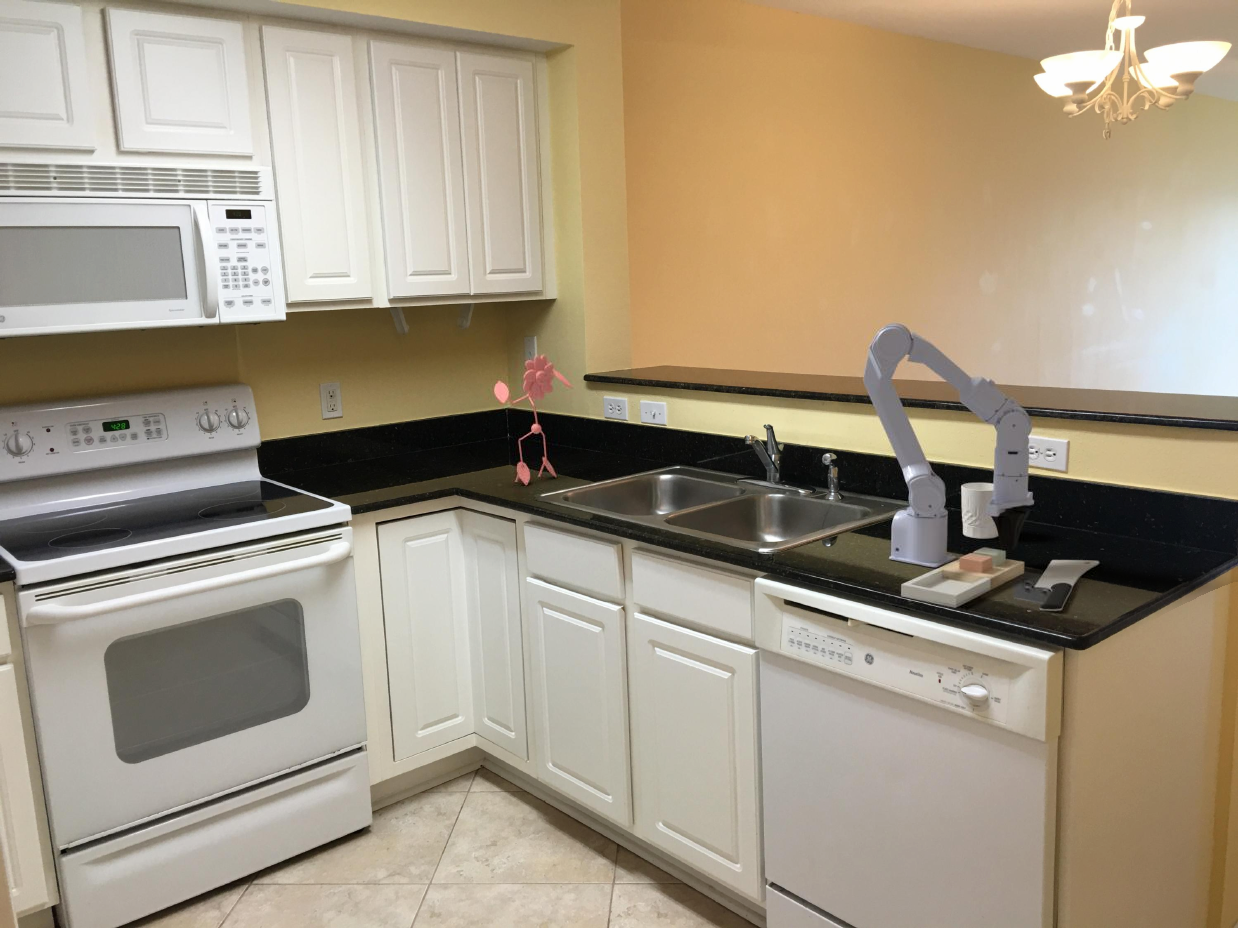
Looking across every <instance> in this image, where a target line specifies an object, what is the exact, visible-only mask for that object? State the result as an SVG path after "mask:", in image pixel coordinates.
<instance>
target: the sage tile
mask: <svg viewBox="0 0 1238 928" xmlns="http://www.w3.org/2000/svg"><path fill="white" fill-rule="evenodd" d="M972 553H973V554H979V555H985V556H990V557H993V563H992V567H996V566H998V565H1000V564H1002V563H1004V562H1005V559H1006V557H1007V554H1006V553H1007V552H1006V550H1002V549H995V548H992V547H991V548H990V547H981V548H979V549H977V550H975V551H973V552H972Z"/></svg>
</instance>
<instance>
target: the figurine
mask: <svg viewBox="0 0 1238 928" xmlns="http://www.w3.org/2000/svg"><path fill="white" fill-rule="evenodd" d="M524 363H525V364H524V366H525V369H526V370H527V371H526V372H525V373H524V375H523V380H524V383H523V388H522V391H523V392H524V393H527V394H526V395H524V396H522V397H520V398H519V399H516V400H514V401H513V400H512V398H511V396H510V394H509V393H510V391H509V388H508V386H507V385H506V384H505V383H504V382H502V381H501V380H498V381H497V383H495V385H494V391H493V392H494V395H495V397H496V399H497V400H498V401H499V402H500V403H502V404H503V405H504V404H505V403H506V402H507V400H509V402H510V404H511V405H515V404H516V403H518V402H520V401H522V400H524V399H526V398H528V399H529V401H530V403H531V405H532V407H533V413H534V417H535V423H533V424H532V426H531V429H530V430H531V431H530V432H529V433H527V434H526V435H524V436H523V437H521V438H519V439H518V447H519V454H520V455H519V456H520V461H519V462H518V463H517V465H516V472H517V475H516V478H515V481H514V483H515V482H517V483H518V480H519V479H520V480H521V482H522V483H523V484H524V485H525V486H527V485H528V484H529V481H530V479H531V473H530V469H529V467H528V466H527V464H526V463H525V462H524V461H523V456H522V447H521V440H523V439H525V438H526V437H529V436H530V435H531V434H532V433H533V434H536V435H537V434H539V433H541V435H542V437H543V448H544V456H542V462H543V463H542V465H541V467H540V471H539V473H538V476H537V478H538V477H540V478H541V476H542V473H543V470H544V467H545V468H546V469H547V470H548V471H549V472H550V474H551V475H552V476H553V477H554V478H557V475H556V472H555V470H554V468H553V466H552V465H551V463H550V462H549V460H548V459H547V450H546V449H547V447H546V438H545V437H546V435H545V434H544V432H543V431H542V426H541V425H540V424H539V422H538V416H537V410H536V406H535V404H534V401H536V400H537V399H539V400H540V401H543V400H544V398H545V396H546V395H545V394H550V393H552V392H553V391H554V388H553V385H552V382H553V381H554V379H555V376H556V377H557V378H558V380H559V381H560V382H562V383H563V384H564V385H565V386H566V387H568V388H569V389H570V388H571V389H574V388H573V386H572V385H571V383H570V382H569V381H568V379H567V378H566V377H564V375H563V374H561V373H560V372H559V371H558V370H556V369H554V363H552V362H550V363H548V359H547V355H546V354H542V355H541V356H539V355H535V356H534V358H533V360H529V359H528V360H527V361H525V362H524ZM497 486H500V487H501V486H502V485H501V484H497Z"/></svg>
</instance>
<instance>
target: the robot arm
mask: <svg viewBox="0 0 1238 928" xmlns="http://www.w3.org/2000/svg"><path fill="white" fill-rule="evenodd" d="M907 355H908V357H907V360H906V361H907V362H909V363H910V362H911V363H916V364H922V365H925V366H926V367H927V368H929V370H931V371H932V372H933V373H935V374H936V375H938V376H939V377H940V378H942V379H943V380H944V381H945V382H947V383H948V384H949V385H950V386H952V387H954V389H956V390H957V391H958V393H959V394H958V395H959V397H958V398H959V402H960V403H961V404H963V406H965V407H966V408H968V409H969V411H971V412H972V413H973V414H974V415H976V417H978V418H979V419H981V420H982V421H983V422H985V424H986V425H993V427H994V429H995V431H996V441H995V442H996V446H995V447H994V455H993V456H994V462H993V463H994V464H993V483H992V484H993V497H992V498H991V501H990V503H989V504H987V505H986V515H990V516H991V517H992V519H993V521H994V523H995V525H996V528H997V531H998V539H999V540H998V541H999V544H1000V548H1001V549H1004V550H1005V549H1006V550H1015V549H1016V548H1017V545H1018V541H1019V538H1020V534H1021V531H1022V528H1023V526H1024V523H1025V521H1026V519H1028V517H1029V515H1030V514H1031V513H1030V508H1024V507H1022V506H1032V505H1034V503H1035V500H1034V499H1033V495H1034V494H1033V491H1029V489H1028V487H1029V486H1028V485H1029V468H1030V467H1029V465H1030V448H1029V444H1030V438H1029V436H1030V434H1031V433H1032V430H1033V424H1032V420H1031V417H1030V415H1029V414H1028V412H1027V411H1026V410H1025V409H1024V408H1023V407H1022V406H1021V405H1019V404H1016V403H1017V400H1016V399H1015V398H1014V397H1011V398H1010V397H1008V396H1007V395H1006V394H1005V393H1004V392H1002V391H1001V390H999V389H998V388H997V387H996V382H995V381H994V380H992V378H988V379H986V378H985V377H983V376H977V377H976V376H975V377H971V376H970V375H969V374H968V373H966V372H965V371H964V370H963V369H961V367H959V366H958V365H957V364H956V363H955V362H954V361H952V360H951V359H950V358H949V357H948V356H946V355H945V354H944V353H943V352H942V351H941V350H940V349H938V348H937V346H935V345H934V344H933V343H931V342H930V341H929V340H927V339H926V338H924V337H922V336H921V335H919V334H917V333H916V332H914V331H913V332H912V333H911V331H910V329H908V327H907V326H905V325H904V324H901V323H897V322H896V323H895V322H892V323H889V324H886V325H885V326H883V327H882V328H880V330H878V332H877V333H876V334H875V336H874V338H873V340H872V341H871V343H870V345H869V347H868V353H867V357H866V358H867V359H866V362H865V369H864V373H863V377H862V378H863V385H864V387H865V388H866V389H865V390H866V392H867V393H868V395H869V398H870V400H871V402H872V404H873V407H874V409H875V411H876V414H877V416H878V418H879V421H880V423H881V425H882V427H883V430H884V431H885V434H886V436H887V438H888V441H889V443H890V446H891V448H892V450H893V452H894V454H895V457H896V459H897V461H898V464H899V465H900V468H901V470H902V473H903V477H904V480H905V483H906V485H907V488H908V492H909V494H908V502H909V507H906V510H905V509H901V510H899V511H897V512H895V514H894V516H893V519H892V523H891V541H890V542H891V543H890V545H891V546H890V548H891V549H890V550H891V551H890V552H891V553H890V556H889V558H888V559H889V560H892V561H897V562H903V563H907V564H913V565H918V566H924V567H929V568H930V567H931V568H938V567H941V566H942V565H943V566H944V565H946V564H948V563H950V562H953V561H955V560H957V559H956V558H957V557H956V555H951V554H947V548H948V512H949V511H948V510H947V509H946V508H945V506H946V485H945V482H944V481H943V480H942V479H941V477H940V476H938V475H937V474H936V473H935V472H934V470H933V469H932V466H931V464H930V462H929V461H928V460H927V457H926V456H925V453H924V451H923V449H922V446H921V444H920V442H919V440H918V438H917V435H916V433H915V430H914V428H913V427H912V424H911V422H910V419H909V417H908V415H907V413H906V410H905V408H904V406H903V403H902V401H901V399H900V397H899V394H898V392H897V390H896V388H895V386H894V384H893V381H892V378H893V376H894V375H895V371H897V368H898V365H899V363H900V362H901V361H902V360H904V358H905V357H906V356H907Z"/></svg>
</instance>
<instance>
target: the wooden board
mask: <svg viewBox="0 0 1238 928" xmlns="http://www.w3.org/2000/svg"><path fill="white" fill-rule="evenodd" d="M937 569H942V570H943V577H942V578H944V579H950V580H955V581H960V582H965V583H970V584H972V583H974V582H976V581H979V580H981V579H983V578H990V579H991V580H990V591H991V590H993V589H996V588H997V587H1000V586H1001V585H1003V584H1005V583H1007V582H1009V581H1011V580H1014V579H1015V578H1017V577H1019V576H1021V575H1024V573H1025V561H1021V560H1015V559H1011V558H1010V559H1008V558H1005V562H1004V563H1002V564H1000V565H998V566H996V567H992V569H990V570H987V571H985V572H983V573H977V572H972V571H966V570H961V569H959V558H958V559H955V560H953V561H950V562H948V563H946V564H944V565H943V566H942V565H941V566H939V568H938V567H937Z"/></svg>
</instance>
